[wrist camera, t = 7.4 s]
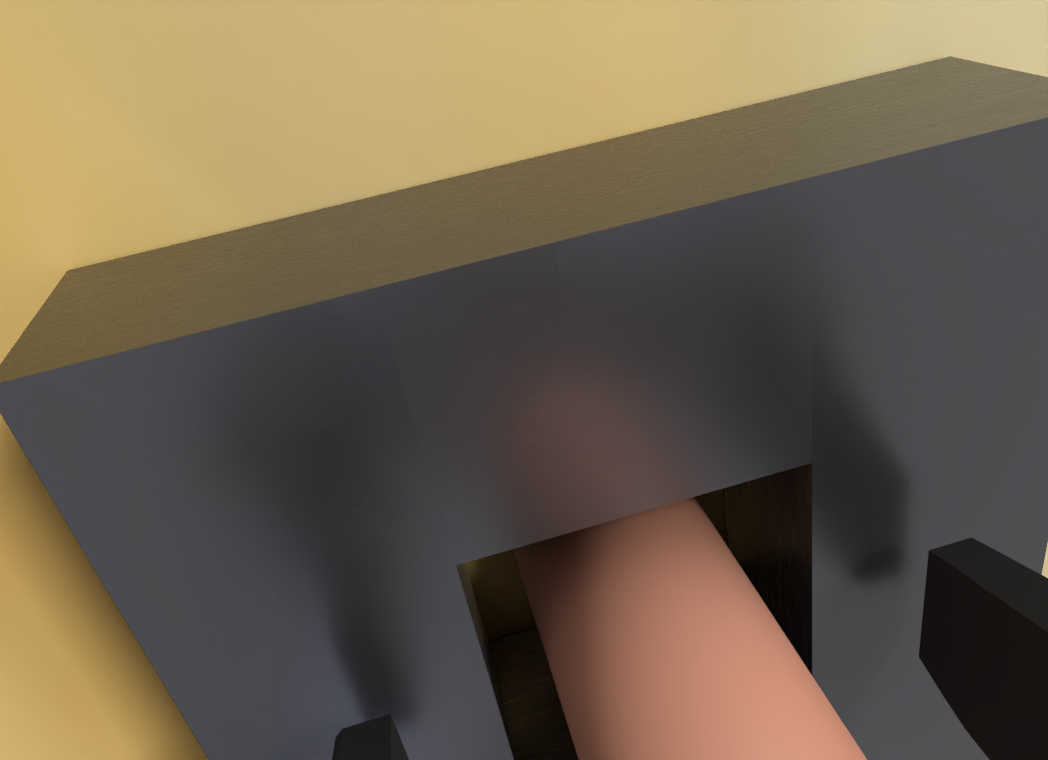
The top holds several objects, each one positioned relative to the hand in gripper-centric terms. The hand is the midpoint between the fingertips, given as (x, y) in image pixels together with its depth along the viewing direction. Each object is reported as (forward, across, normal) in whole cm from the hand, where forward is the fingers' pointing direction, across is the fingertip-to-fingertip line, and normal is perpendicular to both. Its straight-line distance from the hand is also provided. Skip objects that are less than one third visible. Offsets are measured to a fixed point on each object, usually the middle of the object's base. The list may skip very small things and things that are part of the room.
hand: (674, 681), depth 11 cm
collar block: (+4, 0, 0) cm, 4 cm away
